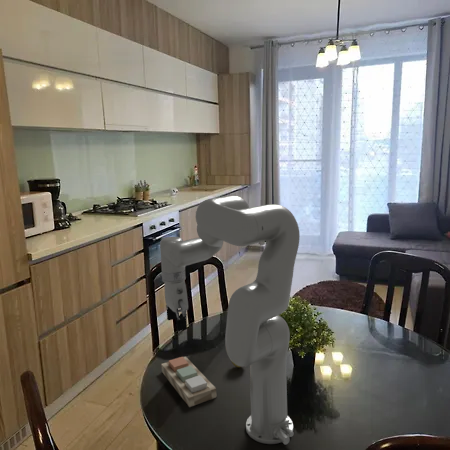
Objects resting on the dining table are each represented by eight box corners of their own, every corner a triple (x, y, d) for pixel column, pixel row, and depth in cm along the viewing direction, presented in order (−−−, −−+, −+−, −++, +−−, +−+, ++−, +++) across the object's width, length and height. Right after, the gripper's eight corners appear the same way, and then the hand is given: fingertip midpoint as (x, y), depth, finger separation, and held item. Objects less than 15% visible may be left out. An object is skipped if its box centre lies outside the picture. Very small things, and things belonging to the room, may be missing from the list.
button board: (216, 397, 125) (216, 388, 124) (189, 407, 121) (188, 397, 120) (186, 364, 145) (185, 356, 144) (162, 371, 141) (161, 363, 140)
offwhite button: (207, 390, 125) (206, 382, 125) (192, 396, 123) (191, 387, 123) (200, 383, 130) (199, 375, 129) (185, 387, 127) (185, 379, 127)
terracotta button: (188, 370, 137) (188, 362, 137) (174, 374, 135) (174, 367, 135) (182, 363, 142) (182, 356, 141) (169, 368, 139) (168, 360, 139)
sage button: (197, 380, 131) (197, 372, 131) (183, 384, 129) (182, 377, 129) (191, 372, 136) (190, 365, 135) (177, 377, 133) (176, 369, 133)
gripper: (194, 280, 127) (197, 332, 131) (175, 266, 143) (178, 313, 146) (171, 284, 124) (175, 337, 127) (154, 270, 139) (158, 317, 143)
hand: (176, 324), depth 137 cm, fingers open, 9 cm apart
